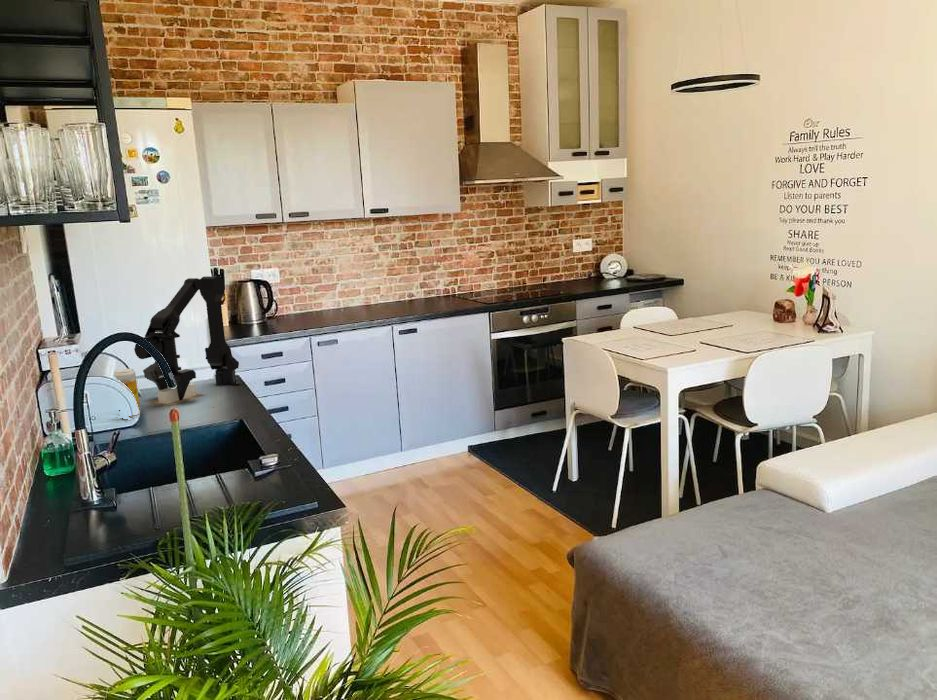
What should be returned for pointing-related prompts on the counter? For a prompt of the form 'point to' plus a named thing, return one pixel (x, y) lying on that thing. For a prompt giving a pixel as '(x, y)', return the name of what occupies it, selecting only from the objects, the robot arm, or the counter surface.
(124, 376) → the beer glass
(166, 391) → the block
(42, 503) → the counter surface
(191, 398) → the walnut board
